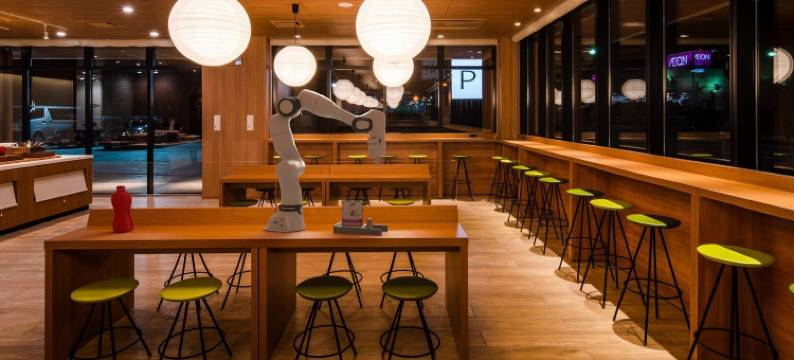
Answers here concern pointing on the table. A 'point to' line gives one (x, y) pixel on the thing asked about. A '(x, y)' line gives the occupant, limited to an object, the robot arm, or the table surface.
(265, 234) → the table surface
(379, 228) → the bay
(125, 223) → the water bottle
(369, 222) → the crate carriage
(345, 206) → the candy bar box
